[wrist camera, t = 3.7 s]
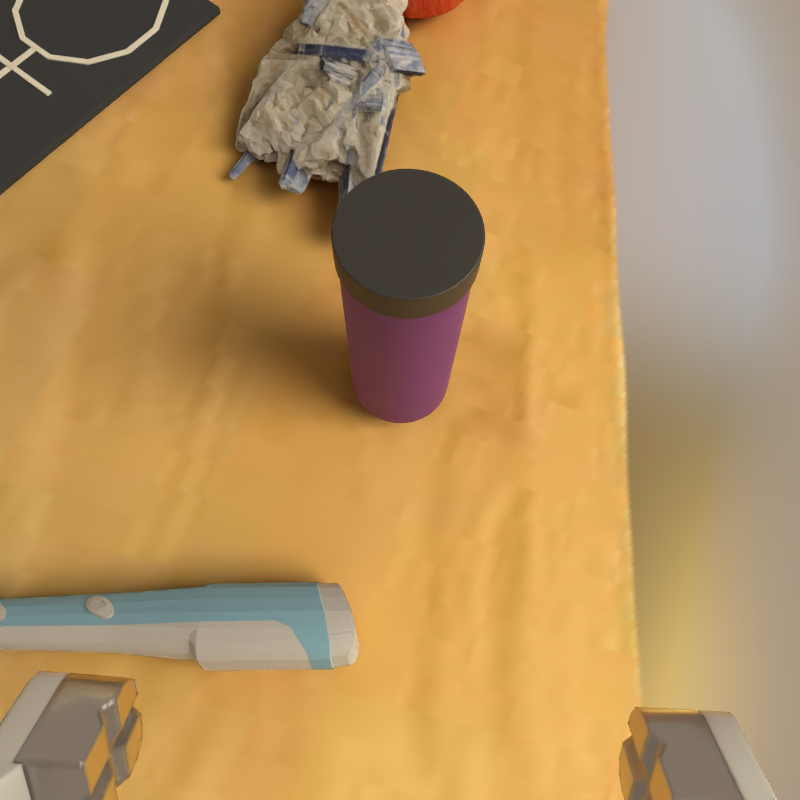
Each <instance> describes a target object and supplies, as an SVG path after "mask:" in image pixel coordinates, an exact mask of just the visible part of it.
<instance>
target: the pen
mask: <svg viewBox="0 0 800 800" xmlns="http://www.w3.org/2000/svg"><path fill="white" fill-rule="evenodd" d="M0 650H27V651H63V652H99V653H120V654H130V655H140V656H150V657H160V658H170V659H180V660H190V661H197V663H198V664H199V665H200V666H201V667H202V669H204V670H205V671H234V670H311V669H334V667H339V666H347V665H352V664H354V662H355V661H356V660H357V657H358V653H359V643H358V639H357V634H356V630H355V624H354V619H353V615H352V611H351V608H350V606H349V603H348V601H347V598H346V596H345V594H344V592H343V590H342V588H341V587H340V585H338V584H337V583H330V584H318V583H317V582H290V583H214V584H209V585H205V586H201V587H190V588H177V589H165V590H153V591H140V592H128V593H102V594H84V595H66V596H47V597H29V598H10V599H0Z"/></svg>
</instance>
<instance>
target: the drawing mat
mask: <svg viewBox="0 0 800 800" xmlns="http://www.w3.org/2000/svg"><path fill="white" fill-rule="evenodd" d="M219 14H220V9H219V7H218V6H216V5H215V4H213V3H212V2H210V1H209V0H0V194H2V193H3V192H4V191H5V190H6V189H8V188H9V187H10V186H11V185H12V184H14V183H15V182H16V181H17V180H19V179H20V178H21V177H22V176H23V175H25V174H26V173H27V172H28V171H29V170H31V169H32V168H33V167H34V166H36V165H37V164H38V163H39V162H40V161H42V160H43V159H44V158H45V157H46V156H48V155H49V154H50V153H51V152H52V151H54V150H55V149H56V148H57V147H59V146H60V145H61V144H62V143H63V142H65V141H66V140H67V139H68V138H69V137H71V136H72V135H73V134H74V133H76V132H77V131H78V130H79V129H80V128H82V127H83V126H84V125H85V124H86V123H88V122H89V121H90V120H91V119H93V118H94V117H95V116H96V115H97V114H99V113H100V112H101V111H102V110H103V109H105V108H106V107H107V106H108V105H110V104H111V103H112V102H113V101H114V100H116V99H117V98H118V97H119V96H120V95H122V94H123V93H124V92H125V91H126V90H128V89H129V88H130V87H131V86H133V85H134V84H135V83H136V82H137V81H139V80H140V79H141V78H142V77H143V76H145V75H146V74H147V73H148V72H150V71H151V70H152V69H153V68H154V67H156V66H157V65H158V64H159V63H160V62H162V61H163V60H164V59H165V58H167V57H168V56H169V55H170V54H171V53H173V52H174V51H175V50H176V49H177V48H179V47H180V46H181V45H182V44H183V43H185V42H186V41H187V40H188V39H190V38H191V37H192V36H193V35H194V34H196V33H197V32H198V31H199V30H200V29H202V28H203V27H204V26H205V25H207V24H208V23H209V22H210V21H211V20H213V19H214V18H215V17H216V16H217V15H219Z"/></svg>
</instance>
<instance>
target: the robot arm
mask: <svg viewBox="0 0 800 800" xmlns="http://www.w3.org/2000/svg"><path fill="white" fill-rule="evenodd" d="M137 695H138V692H137V688H136V683H135V679H131V678H122V677H111V676H99V675H88V674H76V673H60V672H47V671H39V672H38V673H37V674H36V675H34V676H33V677H32V678H31V679H30V680H29V681H28V683H27V684H26V686H25V687H24V689H23V690H22V692H21V693H20V695H19V696H18V698H17V699H16V701H15V702H14V704H13V705H12V707H11V708H10V710H9V711H8V713H7V714H6V716H5V717H4V719H3V720H2V722H1V723H0V800H118V796H117V790H116V788H117V787H118V786H119V785H120V784H121V783H123V782H124V781H125V780H126V779H127V778H129V777H130V776H131V773H132V771H133V768H134V766H135V763H136V761H137V758H138V754H139V749H140V745H141V741H142V718H141V713H140V712H139V711H138V710H137V709H136V708H134V707H133V704H134V701H135V699H136V697H137ZM628 724H629V727H630V731H631V734H632V736H630V737H629V738H628V739H626V740H625V741H624V742H623V743H622V748H621V752H620V756H619V776H620V782H621V788H622V792H623V796H624V800H777V798H776V796H775V795H774V793H773V790H772V789H771V787H770V785H769V783H768V781H767V779H766V777H765V775H764V773H763V771H762V769H761V767H760V765H759V763H758V761H757V759H756V757H755V755H754V753H753V751H752V749H751V747H750V746H749V743H748V742H747V740H746V738H745V736H744V734H743V732H742V730H741V728H740V726H739V724H738V722H737V720H736V718H735V717H734V716H733V715H732V714H731V713H730V712H718V711H701V710H698V711H695V710H691V709H690V710H689V709H668V708H647V707H635V708H634V710H633V711H632V712H631V715H630V718H629V722H628Z"/></svg>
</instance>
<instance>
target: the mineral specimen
mask: <svg viewBox="0 0 800 800" xmlns="http://www.w3.org/2000/svg"><path fill="white" fill-rule="evenodd" d="M407 5H408V0H305V2H304V5H303V8H302V11H301V13H300V16H299V17H298V18H297V19H296V20H294V21H293V22H292V23H291V24H290V25H289V26H288V27H286V28H285V29H284V33H283V37H284V38H282V39H280V40H279V41H277V42H276V43H275V44H274V45H273V46H272V48H271V49H270V54H268V55H266V56H264V57H263V58H262V59H261V61H260V64H259V66H258V73H257V76H256V78H255V79H254V80H253V81H252V90H251V92H250V95H249V98H248V101H247V103H246V105H245V106H244V108H243V110H242V113H241V116H240V120H239V124H238V128H237V132H236V139H237V141H236V143H235V145H236V149H237V150H238V151H239V152H243V151H245V152H244V155H243V156H242V158H241V159H240V160H239V161H238V162H237V164H236V165H235V166H234V168H233V169H232V170H231V172H230V173H229V175H230V177H231V178H232V179H233V180H235V179H236V178H237V177H238V176H240V174H241V173H242V172H243V171H244V170H245V169H246V168H247V166H248V165H249V164H250V163H251V162H254V161H259V160H264V161H265V162H277V165H276V166H277V171H278V174H279V175H281V177H280V179H279V181H278V182H279V184H280V186H281V188H282V189H286V190H288V191H290V192H293V193H297V194H302V193H303V192H304V191H305V189H306V187H307V185H308V183H309V180H310V178H311V177H312V178H313V179H322V181H325V180H327V181H328V182H334V183H335V182H338V183H339V196H338V206H339V204H340V203H341V201H342V200H343V198H344V197H345V196H346V195H347V194H348V193H349V191H350V190H352V189H353V188H354V187H355V186H356V185H358V184H359V183H361V182H362V181H363V180H365V179H367V178H369V177H371V176H373V175H376V174H379V173H382V168H383V164H384V160H385V156H386V151H387V146H388V141H389V137H390V132H391V127H392V122H393V118H394V114H395V110H396V105H397V101H398V96H399V94H400V93H403V92H405V91H408V90H410V88H411V86H410V77H412V76H422V75H424V74H425V73H426V71H425V67H424V65H423V62H422V60H421V57H420V55H419V52H418V51H417V50H416V49H415V48H414V47H413V45H412V44H411V43H410V42H408V41H407V39H408V37H409V34H410V30H409V29H408V27H407V26H406V24H405V23H404V17H403V12H404V11H405V10H406V8H407Z"/></svg>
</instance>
